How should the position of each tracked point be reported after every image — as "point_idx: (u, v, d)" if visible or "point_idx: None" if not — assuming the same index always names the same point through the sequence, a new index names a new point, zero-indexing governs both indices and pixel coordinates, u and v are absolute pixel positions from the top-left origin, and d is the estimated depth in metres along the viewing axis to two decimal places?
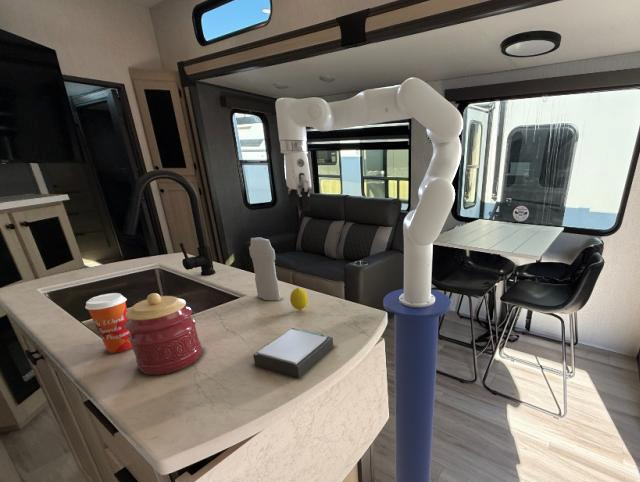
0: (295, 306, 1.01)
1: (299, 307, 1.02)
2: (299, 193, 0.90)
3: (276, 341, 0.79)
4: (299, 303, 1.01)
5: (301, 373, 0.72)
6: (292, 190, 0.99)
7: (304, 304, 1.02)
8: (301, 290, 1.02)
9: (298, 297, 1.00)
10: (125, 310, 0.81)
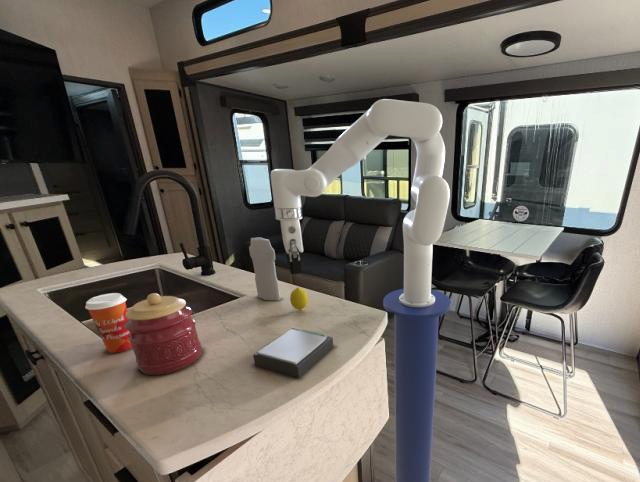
0: (295, 306, 1.01)
1: (299, 307, 1.02)
2: (289, 258, 0.92)
3: (276, 341, 0.79)
4: (299, 303, 1.01)
5: (301, 373, 0.72)
6: None
7: (304, 304, 1.02)
8: (301, 290, 1.02)
9: (298, 297, 1.00)
10: (125, 310, 0.81)
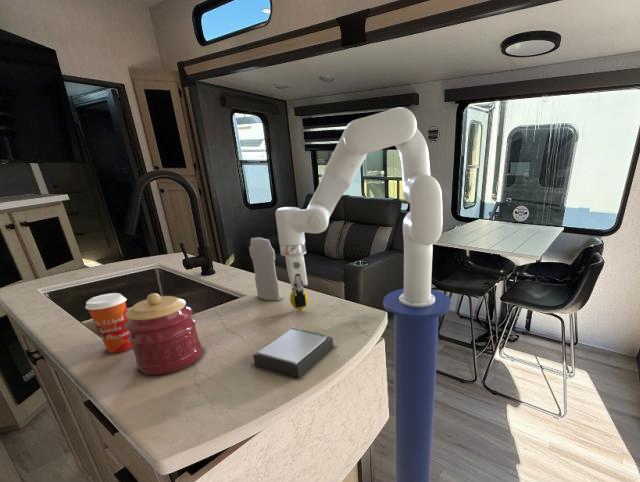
0: (295, 306, 1.01)
1: (299, 307, 1.02)
2: None
3: (276, 341, 0.79)
4: None
5: (301, 373, 0.72)
6: (295, 284, 1.05)
7: None
8: None
9: None
10: (125, 310, 0.81)
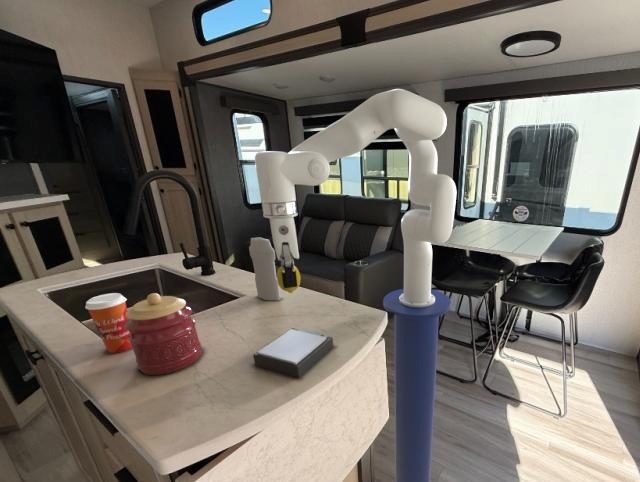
0: (283, 287, 0.77)
1: (288, 288, 0.78)
2: (282, 269, 0.74)
3: (276, 341, 0.79)
4: None
5: (301, 373, 0.72)
6: None
7: None
8: None
9: None
10: (125, 310, 0.81)
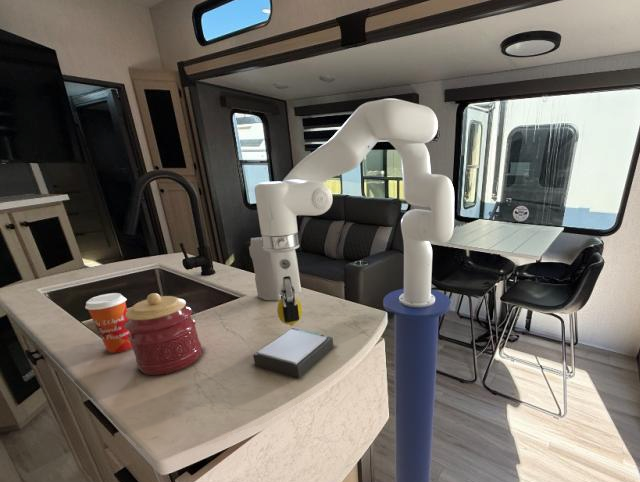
0: (284, 321, 0.74)
1: (290, 322, 0.74)
2: (283, 303, 0.70)
3: (276, 341, 0.79)
4: None
5: (301, 373, 0.72)
6: (285, 290, 0.77)
7: None
8: None
9: None
10: (125, 310, 0.81)
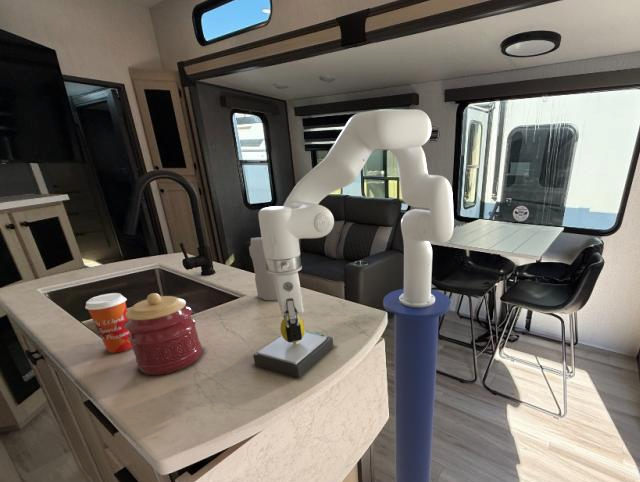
0: None
1: None
2: (286, 324, 0.71)
3: (276, 341, 0.79)
4: None
5: (301, 373, 0.72)
6: None
7: None
8: None
9: None
10: (125, 310, 0.81)
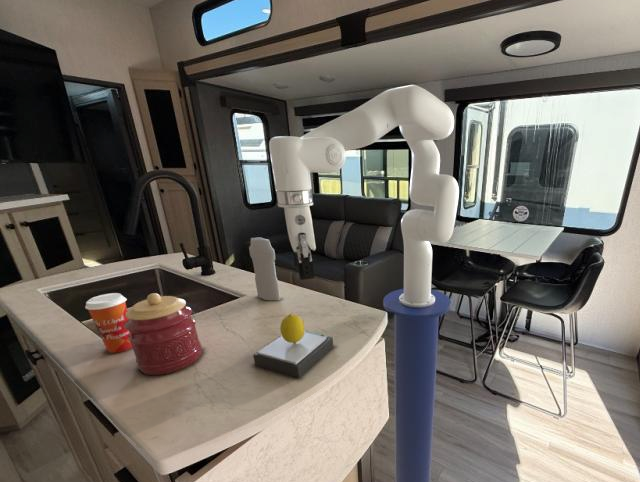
0: (287, 339, 0.76)
1: (292, 340, 0.76)
2: (298, 258, 0.69)
3: (276, 341, 0.79)
4: (292, 336, 0.75)
5: (301, 373, 0.72)
6: None
7: (299, 336, 0.76)
8: (295, 318, 0.76)
9: (291, 328, 0.74)
10: (125, 310, 0.81)
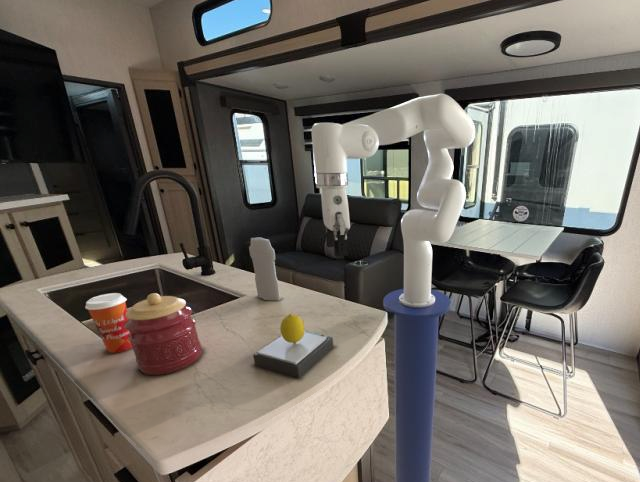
0: (287, 339, 0.76)
1: (292, 340, 0.76)
2: (335, 236, 0.74)
3: (276, 341, 0.79)
4: (292, 336, 0.75)
5: (301, 373, 0.72)
6: None
7: (299, 336, 0.76)
8: (295, 318, 0.76)
9: (291, 328, 0.74)
10: (125, 310, 0.81)
